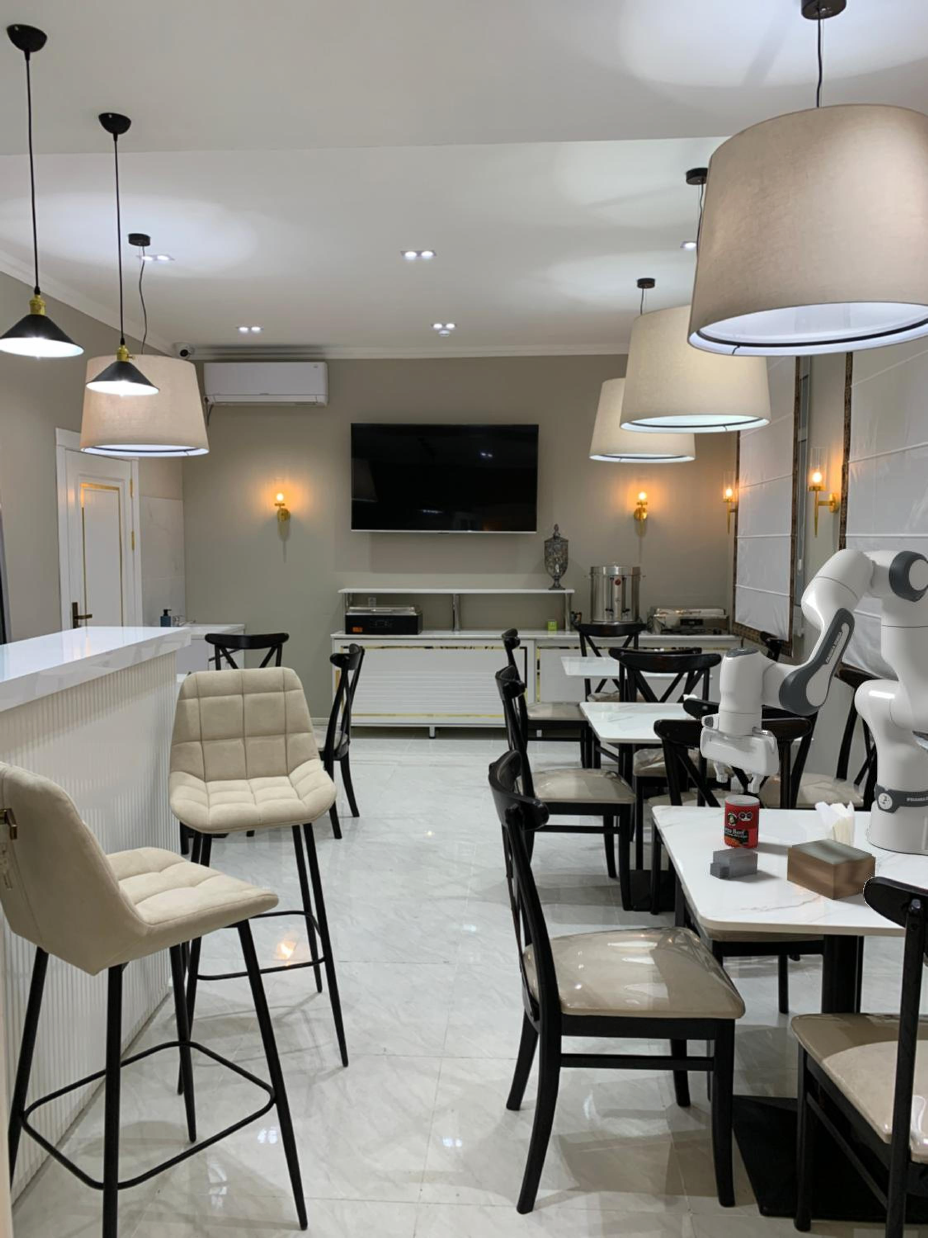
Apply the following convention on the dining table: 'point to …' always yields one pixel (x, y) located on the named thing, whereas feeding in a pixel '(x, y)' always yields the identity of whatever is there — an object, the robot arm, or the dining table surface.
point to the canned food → (741, 821)
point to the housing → (734, 863)
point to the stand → (830, 868)
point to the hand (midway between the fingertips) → (737, 787)
